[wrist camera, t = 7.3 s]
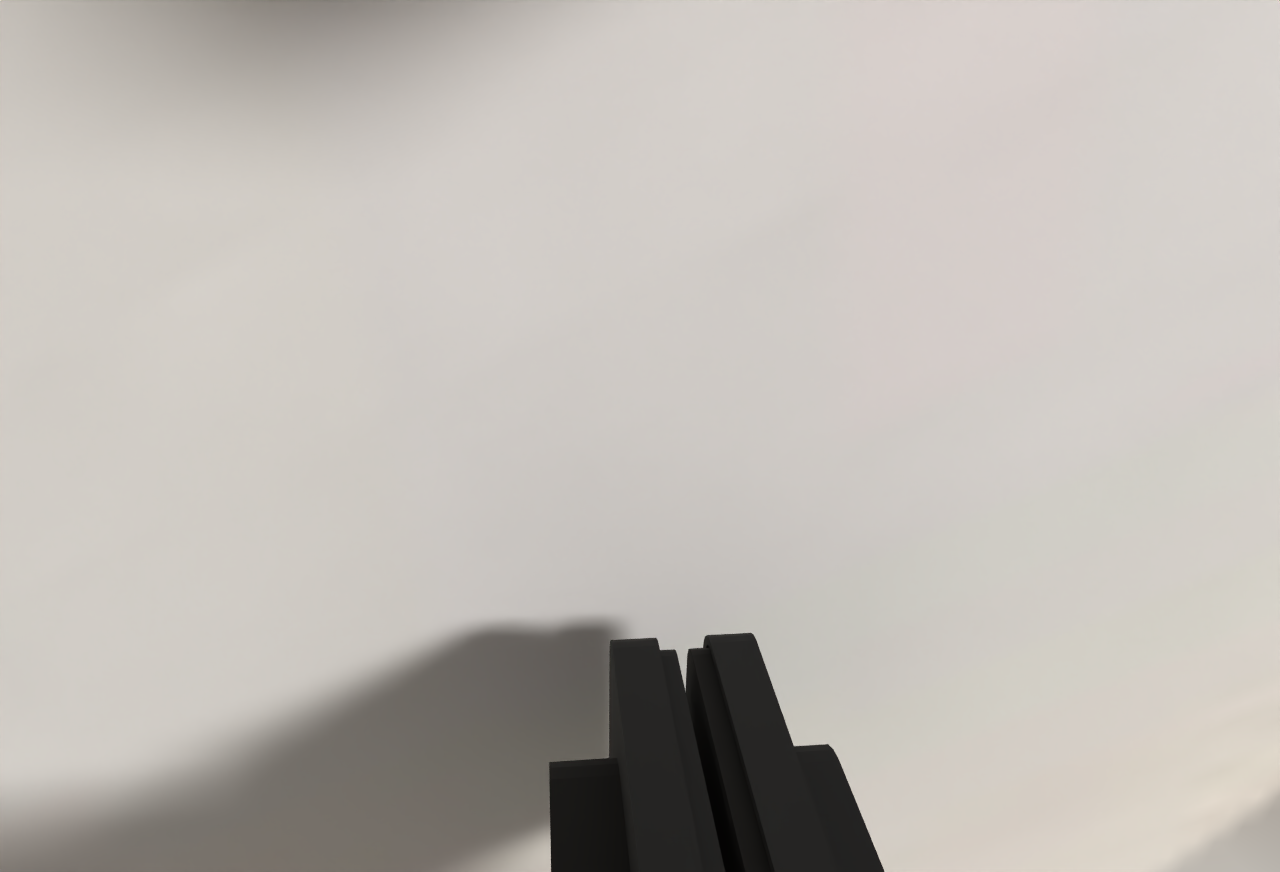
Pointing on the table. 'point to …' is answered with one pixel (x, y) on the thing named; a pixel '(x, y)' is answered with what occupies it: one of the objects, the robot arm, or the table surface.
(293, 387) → the table surface
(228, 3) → the table surface
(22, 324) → the table surface
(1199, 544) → the table surface
